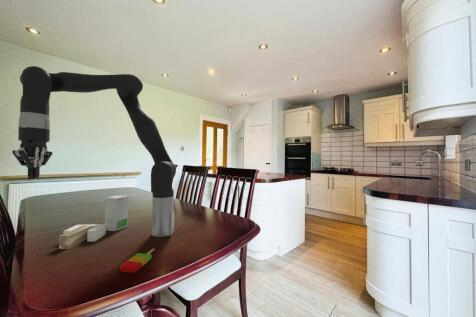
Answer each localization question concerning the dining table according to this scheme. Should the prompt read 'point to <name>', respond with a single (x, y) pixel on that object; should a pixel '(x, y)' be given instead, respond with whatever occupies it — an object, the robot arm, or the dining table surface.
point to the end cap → (91, 231)
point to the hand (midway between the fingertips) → (33, 178)
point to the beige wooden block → (73, 237)
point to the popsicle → (136, 262)
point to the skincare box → (116, 212)
